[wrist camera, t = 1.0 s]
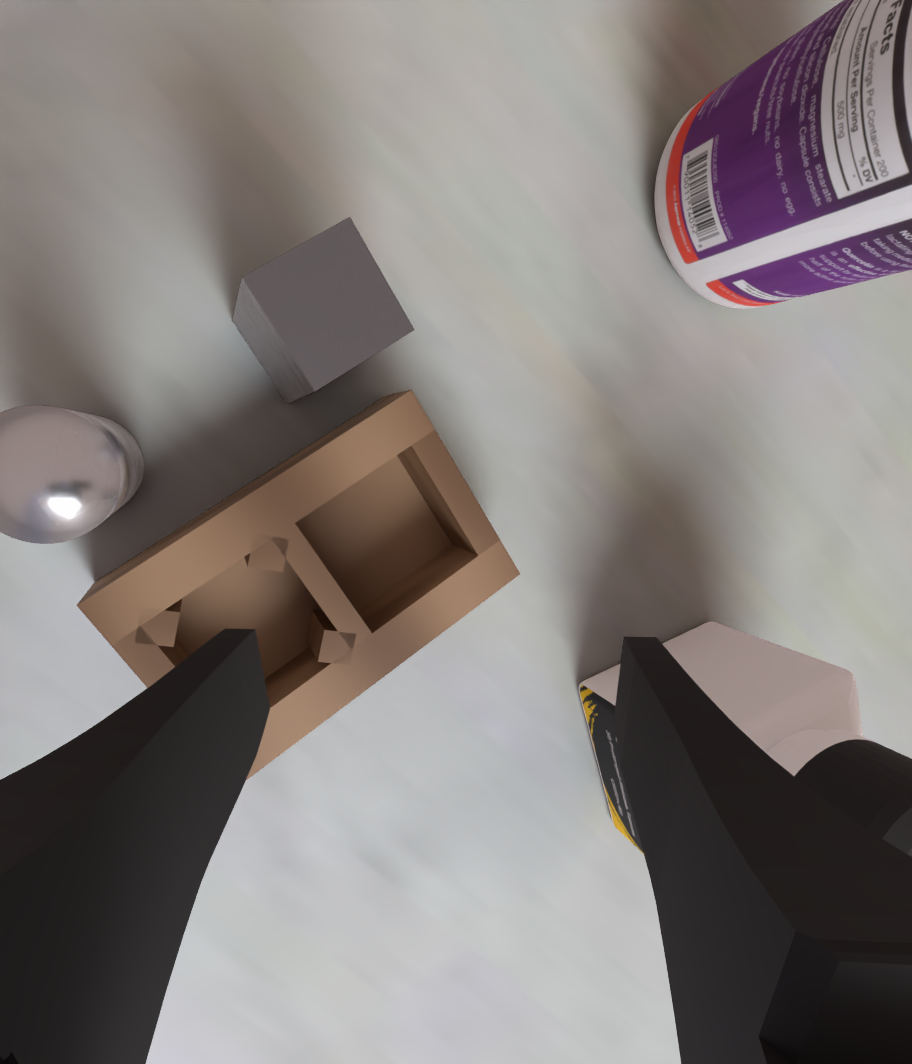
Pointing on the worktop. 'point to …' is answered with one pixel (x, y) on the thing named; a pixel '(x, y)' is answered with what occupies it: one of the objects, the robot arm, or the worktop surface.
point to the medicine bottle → (773, 727)
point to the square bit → (318, 311)
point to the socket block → (315, 569)
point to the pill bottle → (797, 165)
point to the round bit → (63, 472)
